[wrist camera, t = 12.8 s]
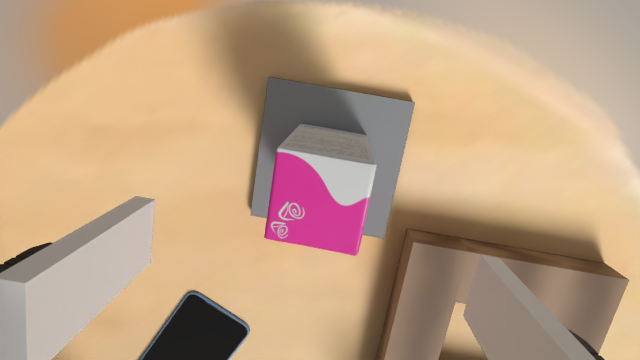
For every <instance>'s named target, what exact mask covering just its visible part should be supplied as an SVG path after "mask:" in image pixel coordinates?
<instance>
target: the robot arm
mask: <svg viewBox="0 0 640 360" xmlns="http://www.w3.org/2000/svg"><path fill="white" fill-rule="evenodd" d="M154 208H155V199H150V198H144V197H138V196H135V197H134V198H132V199H130V200H128V201H126V202H125V203H123V204H121V205H119V206H118V207H116V208H114V209H112V210H111V211H109V212H107V213H105V214H104V215H102V216H100V217H98V218H97V219H95V220H93V221H91V222H90V223H88V224H86V225H84V226H82V227H81V228H79V229H77V230H75V231H74V232H72V233H70V234H68V235H67V236H65V237H63V238H61V239H60V240H58V241H56V242H54V243H46V244H43V245H39V246H36V247H33V248H30V249H28V250H26V251H24V252H22V253H21V254H19V255H17V256H16V258H11V259H10V260H8V261H6V262H4V264H0V360H52V359H53V358H54V357H55V356H56V355H57V354H58V353H59V352H60V351H61V350H62V349H63V348H64V347H65V346H66V345H67V344H68V343H69V342H70V341H71V340H72V339H73V338H74V337H75V336H76V335H77V334H78V333H79V332H80V331H81V330H82V329H83V328H84V327H85V326H86V325H87V324H88V323H89V322H90V321H91V320H92V319H93V318H95V317H96V316H97V315H98V314H99V313H100V312H101V311H102V310H103V309H104V308H105V307H106V306H107V305H108V304H109V303H110V302H111V301H112V300H113V299H114V298H115V297H116V296H117V295H118V294H119V293H120V292H121V291H122V290H123V289H124V288H125V287H126V286H127V285H128V284H129V283H130V282H131V281H132V280H133V279H134V278H135V277H136V276H137V275H139V274H140V273H141V272H142V271H143V270H144V269H145V268H146V267H147V266H148V265H149V264H150V263H151V253H152V238H153V223H154ZM463 316H464V318H465V320H466V321H467V323H468V325H469V327H470V329H471V330H472V332H473V334H474V336H475V338H476V339H477V341H478V343H479V345H480V346H481V348H482V350H483V352H484V354H485V355H486V357H487V359H488V360H604V359H603V358H602V357H601V356H599V355H598V353H597V352H596V351H595V349H594V348H593V347H592V346H591V345H590V344H589V343H588V342H587V341H585V340H584V339H582V338H581V337H580V336H578V335H577V334H575V333H574V332H572V331H571V330H568V329H566V327H565V326H564V325H563V324H562V323H561V322H560V321H559V320H558V319H557V318H556V317H555V316H554V315H553V314H552V313H551V312H550V311H549V310H548V309H547V307H546V306H545V305H544V304H543V303H542V302H541V301H540V300H539V299H538V298H537V297H536V296H535V295H534V294H533V293H532V292H531V291H530V290H529V289H528V288H527V286H526V285H525V284H524V283H523V282H522V281H521V280H520V279H519V278H518V277H517V276H516V275H515V274H514V273H513V272H512V271H511V270H510V269H509V268H508V267H507V265H506V264H505V263H504V262H503V261H502V260H501V259H500V258H494V257H488V256H483V255H481V257H480V260H479V264H478V267H477V270H476V274H475V277H474V280H473V284H472V287H471V291H470V294H469V297H468V301H467V304H466V308H465V311H464V314H463Z"/></svg>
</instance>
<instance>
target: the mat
mask: <svg viewBox="0 0 640 360" xmlns="http://www.w3.org/2000/svg"><path fill="white" fill-rule="evenodd" d="M414 105H415V102H410V101H405V100H399V99H393V98H387V97H382V96H376V95H370V94H364V93H359V92H353V91H347V90H342V89H336V88H330V87H324V86H319V85H313V84H307V83H301V82H296V81H290V80H284V79H278V78H273V77H268V83H267V91H266V99H265V107H264V114H263V122H262V130H261V138H260V145H259V153H258V161H257V169H256V176H255V184H254V192H253V199H252V207H251V215H252V216H257V217H263V218H267V214H268V207H269V200H270V192H271V185H272V178H273V170H274V164H275V157H276V151H277V148H278V147H279V146H280V145H281V144H282V143H283V142H284V141H285V139H286V138H287V137H288V136H289V135H290V134H291V133H292V132H293V131H294V130H295V129H296V128H297V127H298V126H299V125H300V124H301V123H305V124H311V125H316V126H322V127H327V128H333V129H338V130H344V131H349V132H354V133H360V134H365V135H367V138H368V141H369V144H370V147H371V150H372V153H373V156H374V159H375V162H376V165H377V166H376V171H375V177H374V181H373V186H372V191H371V196H370V201H369V206H368V211H367V216H366V221H365V225H364V230H363V234H362V235H366V236H372V237H377V238H383V239H384V236H385V232H386V228H387V223H388V219H389V215H390V210H391V206H392V201H393V197H394V193H395V188H396V184H397V179H398V175H399V171H400V166H401V162H402V157H403V153H404V149H405V144H406V140H407V135H408V131H409V127H410V122H411V118H412V113H413V109H414Z"/></svg>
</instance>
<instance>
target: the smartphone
mask: <svg viewBox="0 0 640 360" xmlns="http://www.w3.org/2000/svg"><path fill="white" fill-rule="evenodd" d="M249 332H250V328H249V326H248V324H247V323H246V322H244V321H243V320H240V318H238V317H236V316H234V315H233V314H231V312H229V311H227V310H225V309H223V308H221V307H220V306H219V305H218V304H217V303H215V302H212V300H210V299H208V298H207V297H205V296H203V294H201V293H199V292H194V291H193V292H190V293H188V294H187V295H186V296H185V297H184V299H183V300H182V301H181V303H180V304H179V306H178V307H177V308H176V310H175V311H174V313H173V314H172V315H171V317H170V318H169V320H168V321H167V322H166V324H165V325H164V327H163V328H162V329H161V331H160V332H159V334H158V335H157V336H156V338H155V339H154V341H153V342H152V343H151V345H150V346H149V348H148V349H147V350H146V352H144V353H143V355H142V356H141V359H140V360H229V359H230V358H231V357H232V355H233V354H234V353H235V352H236V350H237V349H238V348H239V347H240V345H241V344H242V343H243V341H244V340H245V339H246V338H247V336H248V334H249Z"/></svg>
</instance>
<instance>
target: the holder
mask: <svg viewBox="0 0 640 360" xmlns="http://www.w3.org/2000/svg"><path fill="white" fill-rule="evenodd" d="M481 255H483V256H488V257H494V258H500V259H501V260H502V261H503V262H504V263H505V264H506V265H507V267H508V268H509V269H510V270H511V271H512V272H513V273H514V274H515V275H516V276H517V277H518V278H519V279H520V280H521V281H522V282H523V283H524V284H525V285H526V286H527V288H528V289H529V290H530V291H531V292H532V293H533V294H534V295H535V296H536V297H537V298H538V299H539V300H540V301H541V302H542V303H543V304H544V305H545V306H546V307H547V309H548V310H549V311H550V312H551V313H552V314H553V315H554V316H555V317H556V318H557V319H558V320H559V321H560V322H561V323H562V324H563V325H564V326H565V327H566V329H568V330H571V331H572V332H574V333H575V334H577V335H578V336H580V337H581V338H582V339H584V340H585V341H587V342H588V343H589V344H590V345H591V346H592V347H593V348H594V349H595V351H596V352H597V353H598V354H599V351H600V349H601V346H602V344H603V342H604V339H605V337H606V334H607V332H608V330H609V327H610V325H611V322H612V320H613V318H614V315H615V313H616V310H617V308H618V306H619V303H620V301H621V298H622V296H623V294H624V291H625V289H626V286H627V284H628V282H629V280H628V279H627V278H626V277H624V276H623V275H621V274H620V273H618V272H617V271H615V270H614V269H612V268H611V267H610V266H608V265H607V264H605V263H600V262H595V261H589V260H583V259H577V258H572V257H566V256H560V255H555V254H549V253H543V252H537V251H532V250H526V249H520V248H515V247H509V246H503V245H497V244H492V243H486V242H480V241H474V240H469V239H463V238H457V237H452V236H446V235H440V234H434V233H429V232H423V231H417V230H411V229H407V232H406V236H405V240H404V244H403V248H402V252H401V257H400V261H399V265H398V269H397V273H396V277H395V281H394V285H393V289H392V294H391V298H390V302H389V306H388V310H387V314H386V318H385V322H384V327H383V331H382V335H381V339H380V343H379V347H378V351H377V355H376V360H438V359H439V356H440V352H441V349H442V346H443V342H444V339H445V335H446V332H447V329H448V325H449V322H450V318H451V315H452V311H453V308H454V305H455V302H458V303H464V304H467V301H468V297H469V294H470V291H471V287H472V284H473V280H474V277H475V274H476V270H477V267H478V264H479V260H480V257H481Z"/></svg>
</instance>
